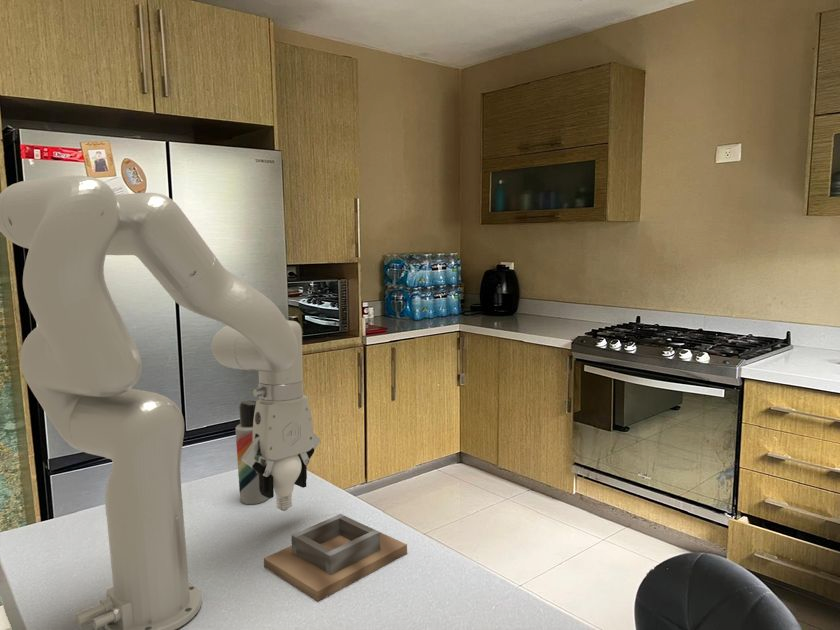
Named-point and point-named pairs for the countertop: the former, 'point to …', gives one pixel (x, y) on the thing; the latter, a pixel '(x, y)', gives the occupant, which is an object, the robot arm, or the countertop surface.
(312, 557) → the lamp socket
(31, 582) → the countertop surface
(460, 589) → the countertop surface
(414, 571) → the countertop surface
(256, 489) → the lotion bottle
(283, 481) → the lightbulb
